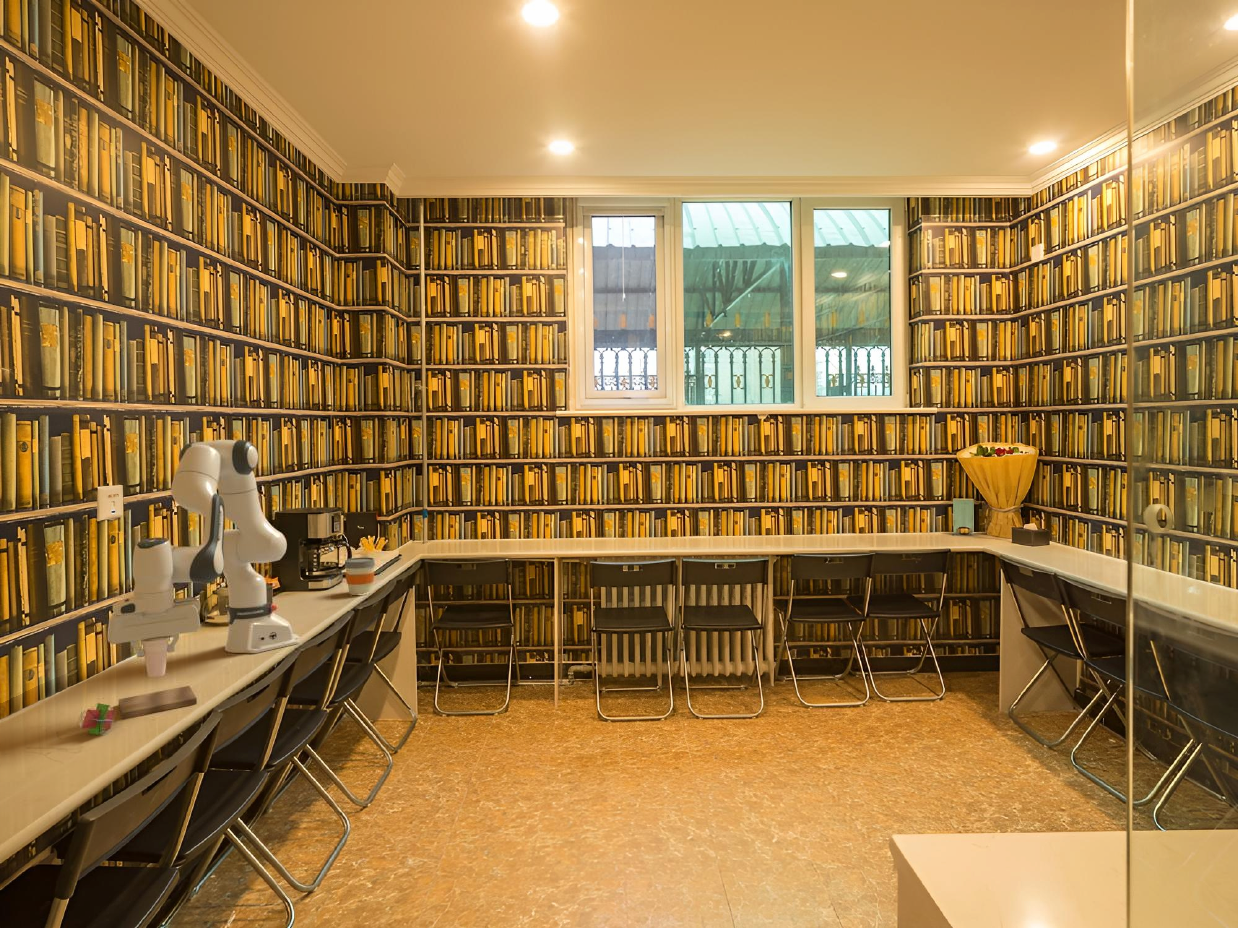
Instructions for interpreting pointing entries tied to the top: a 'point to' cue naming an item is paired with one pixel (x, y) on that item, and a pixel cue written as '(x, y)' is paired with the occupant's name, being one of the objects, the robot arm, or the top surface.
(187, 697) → the serving board
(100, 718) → the geometric puzzle
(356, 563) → the reusable coffee cup
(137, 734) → the top surface
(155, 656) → the smoothie
